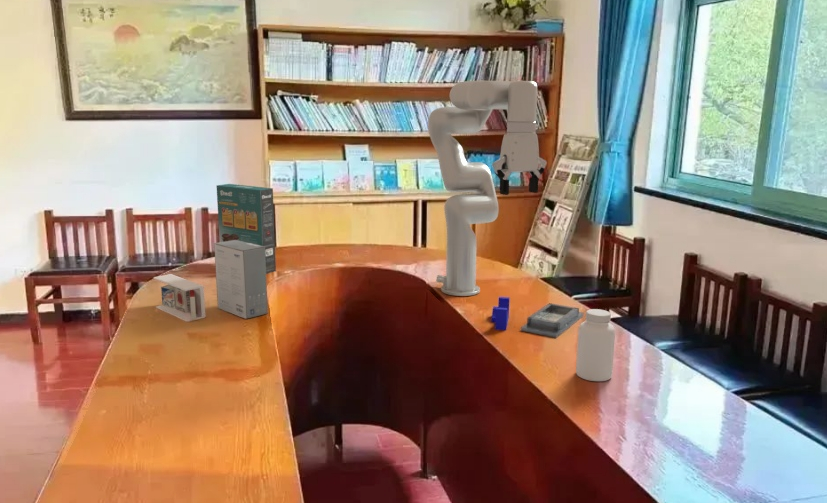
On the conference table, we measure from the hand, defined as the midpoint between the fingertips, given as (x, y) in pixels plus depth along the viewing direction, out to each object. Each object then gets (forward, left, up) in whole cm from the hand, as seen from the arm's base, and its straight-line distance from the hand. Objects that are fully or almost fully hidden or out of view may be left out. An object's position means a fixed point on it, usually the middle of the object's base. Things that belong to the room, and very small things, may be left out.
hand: (518, 193), depth 181 cm
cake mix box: (-106, +2, -37) cm, 112 cm away
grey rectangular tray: (+10, +5, -36) cm, 38 cm away
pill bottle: (+31, -25, -37) cm, 54 cm away
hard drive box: (-70, -35, -37) cm, 87 cm away
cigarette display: (-84, -46, -37) cm, 102 cm away
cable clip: (-3, -3, -37) cm, 37 cm away
